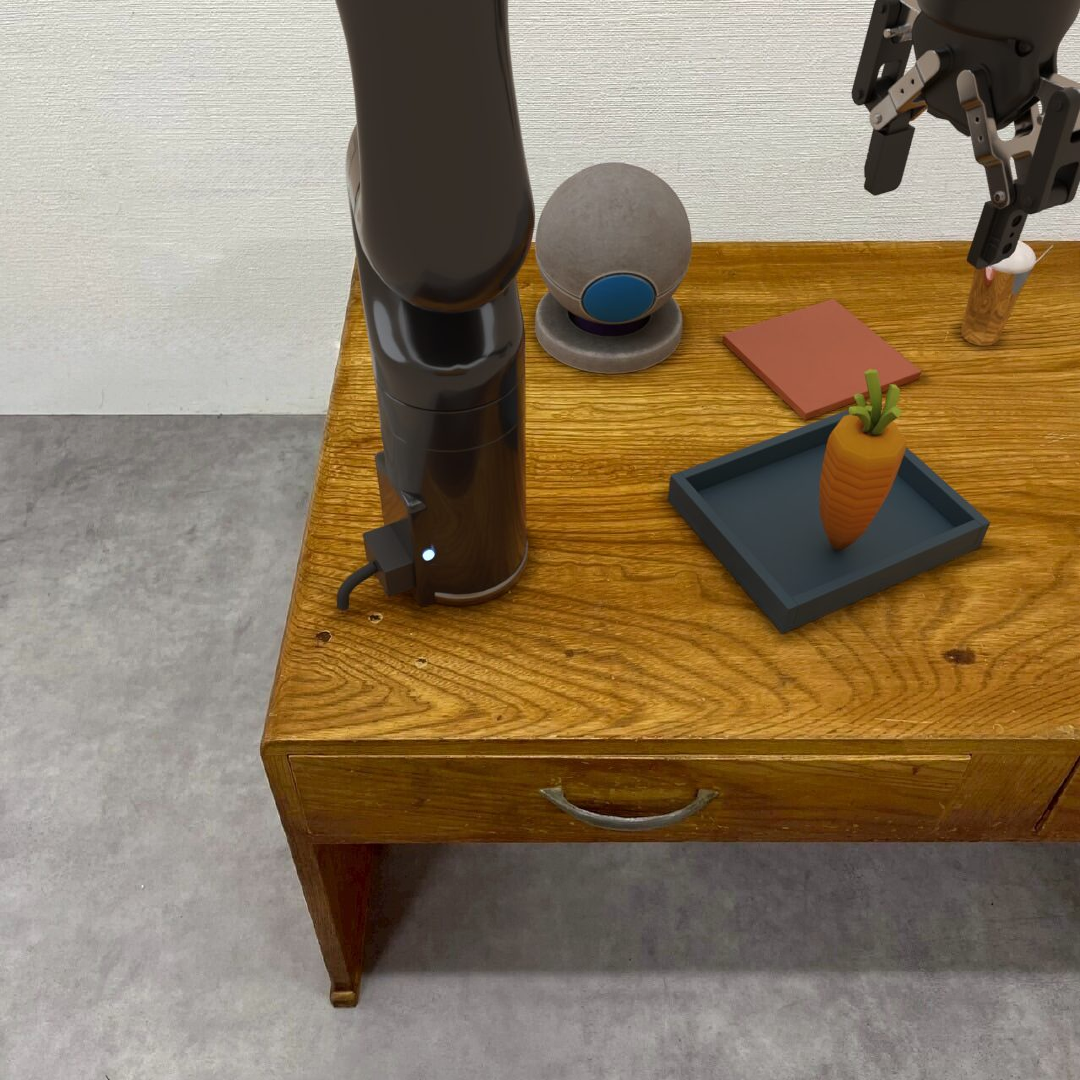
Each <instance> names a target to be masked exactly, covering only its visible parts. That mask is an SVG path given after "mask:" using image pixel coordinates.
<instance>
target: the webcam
mask: <svg viewBox="0 0 1080 1080" xmlns="http://www.w3.org/2000/svg"><path fill="white" fill-rule="evenodd" d="M692 238H693V237H692V231H691V223H690V219H689V217H688V213H687V211H686V208H685V205H684V203H683V202H682V201H681V199H680V197H679V196H678V194H677V193H676V192H675V190H674V189H673V188H672V187H671V186H670V185H669V184H668V183H667V182H666V181H665V180H663V179H662V177H659V176H658V175H656V174H655V173H654V172H652V171H650V170H647V169H646V168H643V167H641V166H636V165H634V164H629V163H624V162H603V163H598V164H594V165H591V166H587V167H585V168H584V169H581V170H579V171H578V172H576V173H574V174H572V175H571V176H569V177H568V178H566V180H564V181H563V182H561V184H560V185H559V186H558V187H556V189H555V190H554V191H553V193H552V194H551V195H550V197H549V198H548V199H547V201H546V202H545V205H544V207H543V208H542V210H541V213H540V216H539V219H538V222H537V227H536V232H535V244H534V248H535V250H534V251H535V258H536V259H535V260H536V264H537V267H538V271H539V275H540V276H541V279H542V281H543V283H544V285H545V286H546V288H547V289H548V291H547V292H545V294H544V295H543V296H542V297H541V299H540V301H539V302H538V305H537V308H536V310H535V315H534V316H535V317H534V333H535V336H536V339H537V341H538V343H539V344H540V346H541V347H542V349H543V350H545V352H546V353H547V354H549V356H551V357H552V358H554V359H556V361H559V362H560V363H562V364H564V365H566V366H569V367H571V368H575V369H578V370H581V371H586V372H590V373H597V374H608V375H609V374H611V375H612V374H626V373H633V372H638V371H643V370H646V369H648V368H651V367H653V366H655V365H657V364H660V363H661V362H663V361H664V360H666V359H668V358H669V357H670V356H672V354H673V353H674V352H675V351H676V349H677V348H678V347H679V345H680V342H681V340H682V335H683V323H684V322H683V313H682V311H681V309H680V305H679V303H678V302H677V301H676V299H675V298H674V295H675V293H676V292H677V291H678V289H679V287H680V286H681V285H682V282H683V281H684V278H685V276H686V274H687V272H688V269H689V266H690V262H691V258H692V250H693V242H692V241H693V239H692Z"/></svg>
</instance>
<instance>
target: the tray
mask: <svg viewBox="0 0 1080 1080" xmlns="http://www.w3.org/2000/svg"><path fill="white" fill-rule="evenodd" d="M846 415H850V413H849V409H846V410H844V411H841V412H838V413H836V414H833V415H830V416H827V417H824V418H821V419H819V420H816V421H814V422H811V423H809V424H805V425H803V426H800V427H798V428H795V429H792V430H789V431H787V432H784V433H782V434H779V435H776V436H773V437H770V438H768V439H765V440H762V441H760V442H757V443H754V444H752V445H751V444H750V445H749V446H745V447H743V448H740V449H737V450H735V451H732V452H730V453H727V454H724V455H721V456H718V457H716V458H713V459H711V460H708V461H705V462H703V463H699V464H696V465H694V466H692V467H689V468H687V469H683V470H681V471H678V472H674V473H672V474H670V476H669V478H670V479H669V486H668V492H667V493H668V494H667V501H668V502H669V504H670V505H671V506H672V507H673V508H674V509H675V510H676V512H677V513H678V514H679V515H680V517H682V518H683V520H684V521H685V522H686V524H688V526H689V527H690V528H691V529H692V531H693V532H694V533H695V534H696V535H697V536H698V537H699V539H700V540H701V541H702V542H703V543H704V544H705V546H706V547H707V548H708V549H709V550H710V552H711V553H712V554H713V555H714V556H715V557H716V558H717V559H718V561H719V562H720V563H721V564H722V566H723V567H724V568H725V569H726V570H727V571H728V572H729V574H730V576H732V577H733V578H734V580H735V581H736V582H737V583H738V584H739V585H740V586H741V588H742V589H743V590H744V592H746V594H747V595H748V596H749V597H750V599H751V600H753V602H754V603H755V604H756V605H757V606H758V608H759V609H760V610H761V611H762V612H763V613H764V614H765V616H766V617H767V618H768V619H769V620H770V622H771V623H772V624H773V625H774V627H776V629H777V630H778V631H779V632H780V633H781V634H782V635H784V634H785V633H788V632H790V631H793V630H795V629H798V628H799V627H802V626H804V625H807V624H809V623H811V622H813V621H815V620H818V619H820V618H822V617H825V616H827V615H830V614H831V613H833V612H836V611H838V610H840V609H842V608H845V607H848V606H850V605H852V604H854V603H857V602H859V601H861V600H863V599H865V598H868V597H869V596H870V597H871V596H873V595H875V594H877V593H879V592H882V591H883V590H886V589H889V588H891V587H894V586H896V585H898V584H899V583H902V582H904V581H906V580H909V579H911V578H914V577H916V576H918V575H919V574H920V575H921V574H922V573H925V572H927V571H929V570H932V569H934V568H936V567H938V566H941V565H943V564H945V563H947V562H950V561H952V560H954V559H957V558H959V557H961V556H963V555H965V554H968V553H970V552H972V551H975V550H978V549H980V548H981V547H982V544H983V542H984V539H985V537H986V535H987V532H988V530H989V527H990V525H991V521H990V520H989V519H988V518H986V517H985V516H984V515H983V514H982V513H981V512H980V511H979V510H977V509H976V508H975V506H973V505H972V504H971V503H970V502H969V501H967V499H965V498H964V497H963V496H962V495H961V494H959V492H957V491H956V489H954V488H953V487H952V486H951V485H950V484H948V483H947V482H946V481H945V480H944V479H943V478H941V476H939V475H938V474H937V473H936V472H935V471H934V470H933V469H932V468H930V466H929V465H928V464H926V463H925V462H924V461H923V460H922V459H920V457H918V455H916V454H915V453H914V452H913V451H912V450H910V449H909V448H908V447H907V446H906V450H905V453H904V456H903V459H902V461H901V464H900V467H899V470H898V472H897V475H896V477H895V480H894V482H893V485H892V487H891V490H890V492H889V494H888V495H887V497H886V499H885V501H884V502H883V504H882V506H881V507H880V509H879V511H878V512H877V514H876V515H875V517H874V518H873V520H872V521H871V523H870V524H869V526H868V528H867V529H866V531H865V532H864V533H863V534H862V535H861V536H860V537H859V538H858V539H857V540H856V541H855V542H854V543H852V544H851V545H849V546H848V547H846V548H845V549H841V550H836V549H834V548H833V547H832V546H831V544H830V542H829V540H828V538H827V535H826V533H825V530H824V528H823V524H822V520H821V516H820V499H819V496H820V478H821V472H822V466H823V460H824V456H825V451H826V447H827V442H828V438H829V436H830V434H831V433H832V431H833V430H834V428H835V427H836V426H837V424H838V423H839V422H840V420H841V419H842V418H843V417H844V416H846Z"/></svg>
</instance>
